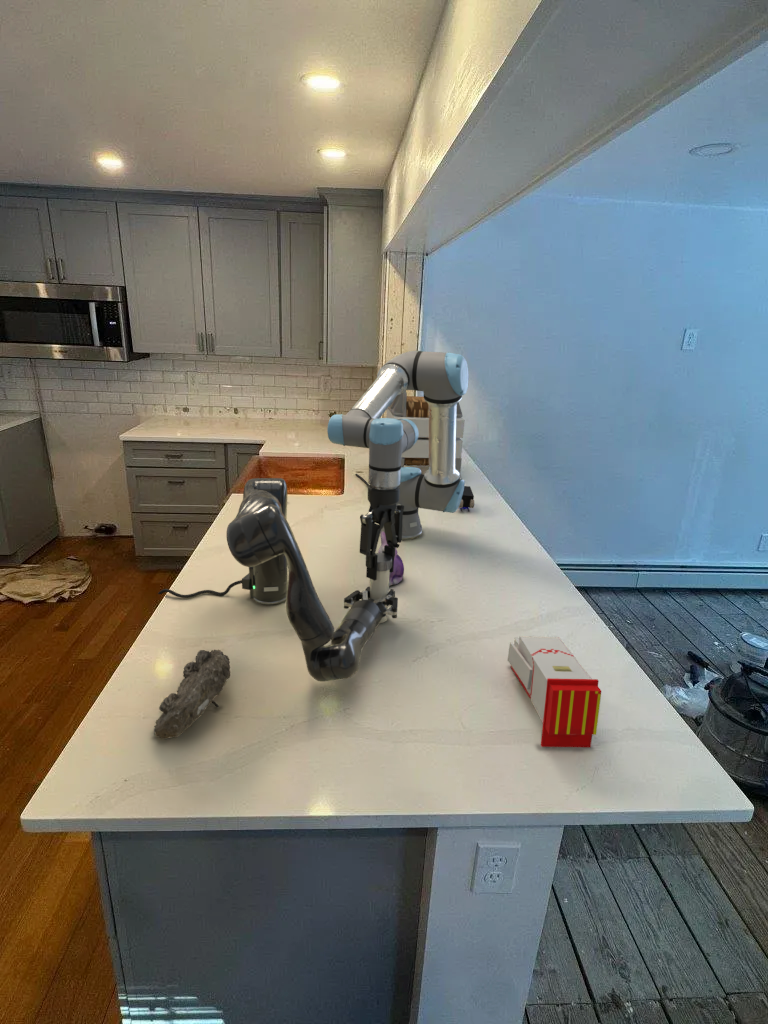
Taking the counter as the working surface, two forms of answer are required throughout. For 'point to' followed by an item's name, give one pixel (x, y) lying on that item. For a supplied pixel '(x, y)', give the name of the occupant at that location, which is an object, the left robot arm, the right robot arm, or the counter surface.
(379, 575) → the jar
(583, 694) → the toy
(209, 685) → the fossil
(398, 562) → the figurine
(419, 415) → the grey brown slatted box
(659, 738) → the counter surface
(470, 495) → the figurine character
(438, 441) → the right robot arm
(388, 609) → the left robot arm
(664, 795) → the counter surface
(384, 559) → the lid
